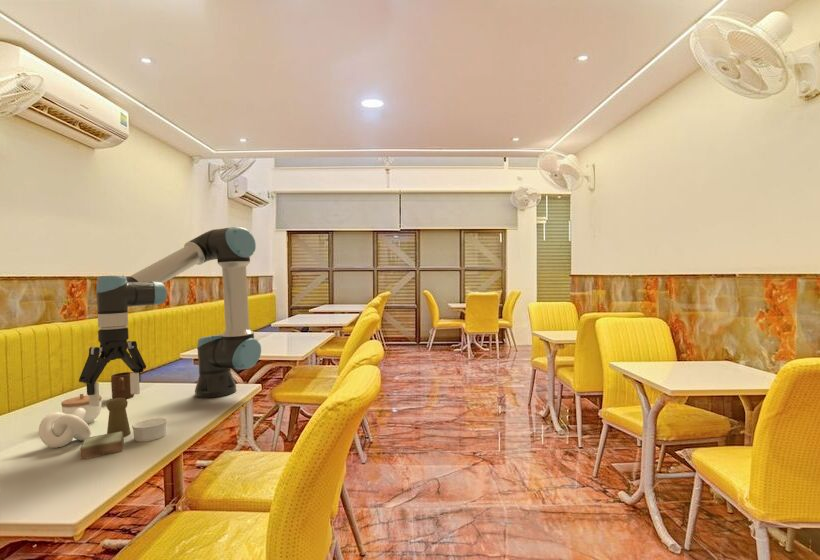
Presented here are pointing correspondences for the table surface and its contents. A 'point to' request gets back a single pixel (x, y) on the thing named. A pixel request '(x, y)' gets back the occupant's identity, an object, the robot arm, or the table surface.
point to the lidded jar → (82, 402)
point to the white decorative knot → (63, 428)
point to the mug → (121, 385)
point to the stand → (102, 445)
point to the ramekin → (149, 429)
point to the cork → (118, 416)
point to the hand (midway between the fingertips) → (115, 399)
